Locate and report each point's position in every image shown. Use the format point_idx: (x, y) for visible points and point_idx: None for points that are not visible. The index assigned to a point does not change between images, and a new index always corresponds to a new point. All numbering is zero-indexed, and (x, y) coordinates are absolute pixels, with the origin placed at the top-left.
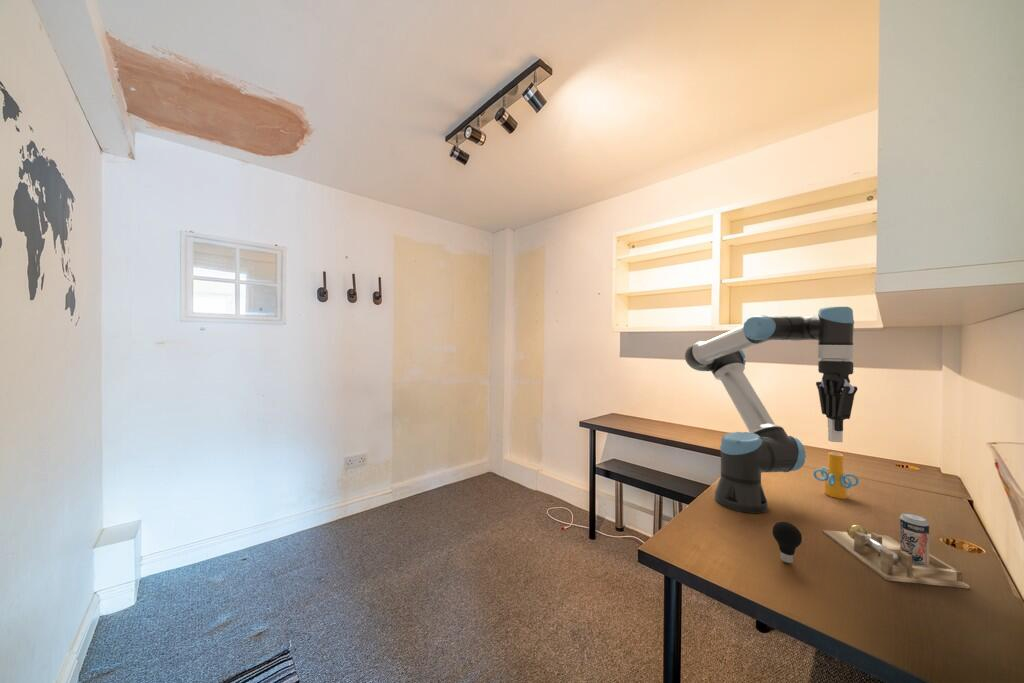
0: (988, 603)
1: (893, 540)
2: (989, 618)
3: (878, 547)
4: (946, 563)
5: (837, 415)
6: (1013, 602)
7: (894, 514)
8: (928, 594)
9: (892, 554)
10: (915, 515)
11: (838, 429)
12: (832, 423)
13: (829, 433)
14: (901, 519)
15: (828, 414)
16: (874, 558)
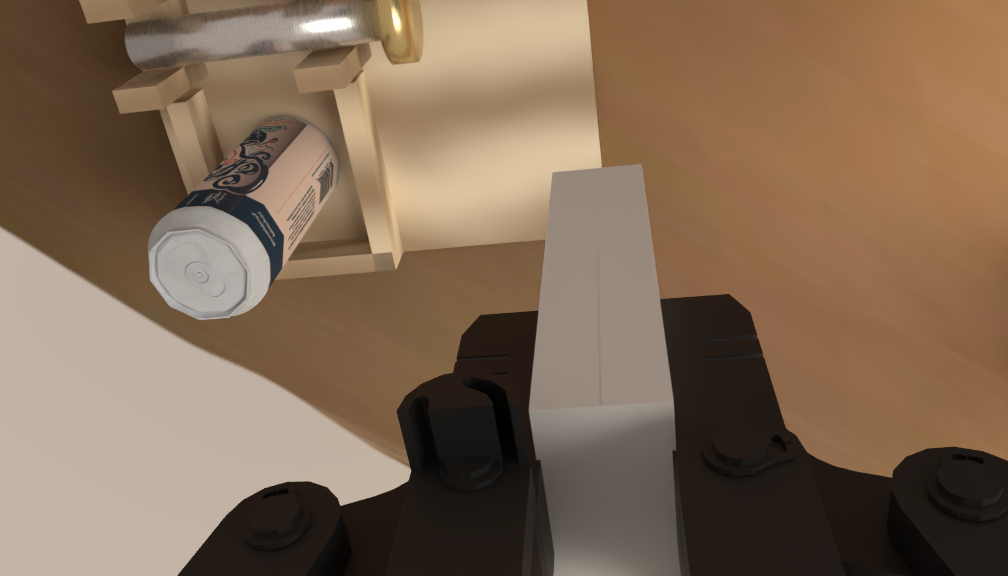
0: (130, 253)
1: None
2: (13, 184)
3: (208, 17)
4: (288, 278)
5: (314, 535)
6: (185, 338)
7: (922, 435)
8: (78, 71)
9: (86, 20)
10: (244, 301)
11: (463, 350)
12: (537, 357)
13: (617, 223)
14: (201, 206)
15: (700, 486)
16: None
